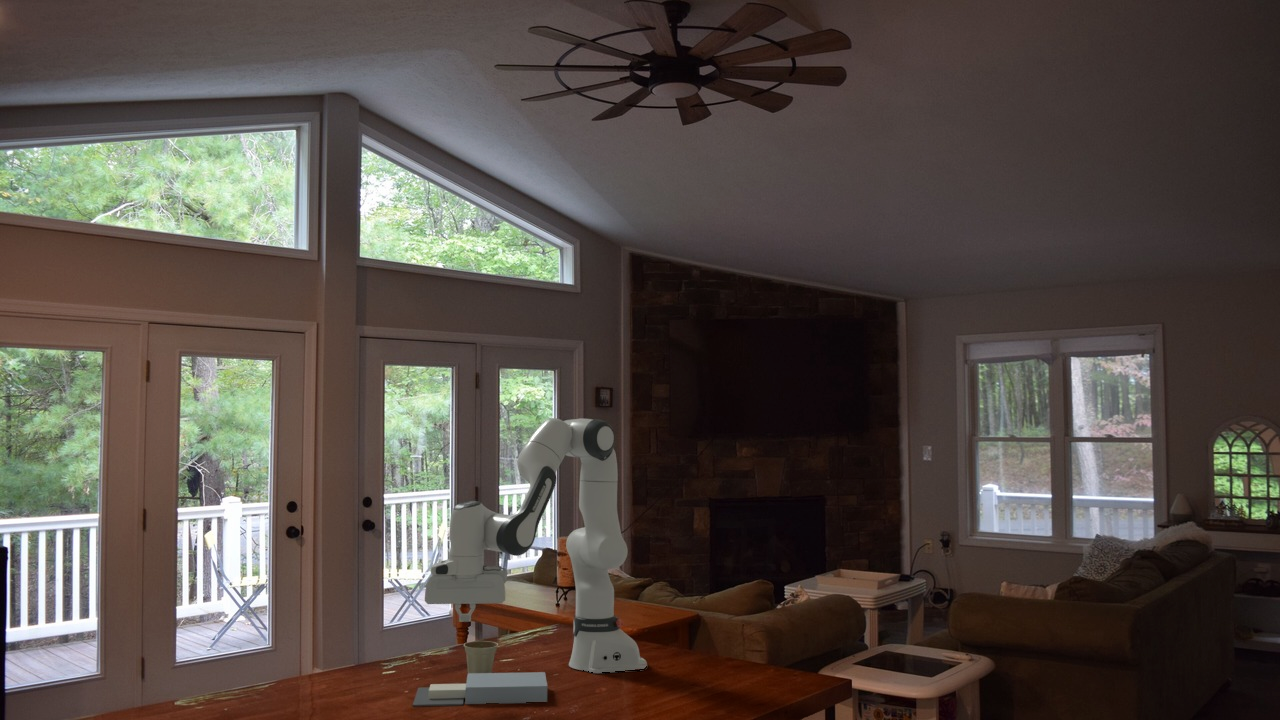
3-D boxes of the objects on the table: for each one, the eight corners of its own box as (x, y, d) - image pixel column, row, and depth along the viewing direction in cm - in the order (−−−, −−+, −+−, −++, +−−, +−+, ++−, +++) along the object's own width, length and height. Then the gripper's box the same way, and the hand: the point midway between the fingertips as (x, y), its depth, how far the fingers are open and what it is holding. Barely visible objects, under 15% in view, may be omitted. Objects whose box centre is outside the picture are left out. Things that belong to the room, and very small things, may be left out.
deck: (544, 687, 253) (545, 672, 254) (547, 702, 240) (547, 686, 240) (467, 689, 251) (467, 673, 251) (465, 704, 237) (465, 687, 237)
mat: (465, 688, 252) (465, 686, 252) (462, 705, 236) (462, 703, 236) (418, 689, 250) (418, 687, 250) (412, 706, 234) (412, 704, 234)
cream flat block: (466, 691, 247) (466, 683, 247) (465, 697, 241) (465, 689, 241) (430, 692, 246) (430, 684, 246) (428, 698, 240) (428, 690, 240)
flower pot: (503, 674, 267) (504, 642, 268) (487, 682, 258) (488, 649, 259) (473, 671, 270) (474, 639, 271) (456, 678, 261) (457, 646, 262)
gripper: (507, 564, 251) (506, 618, 250) (426, 564, 248) (425, 619, 247) (507, 567, 244) (506, 623, 243) (424, 568, 242) (423, 624, 241)
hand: (464, 621), depth 245 cm, fingers closed
